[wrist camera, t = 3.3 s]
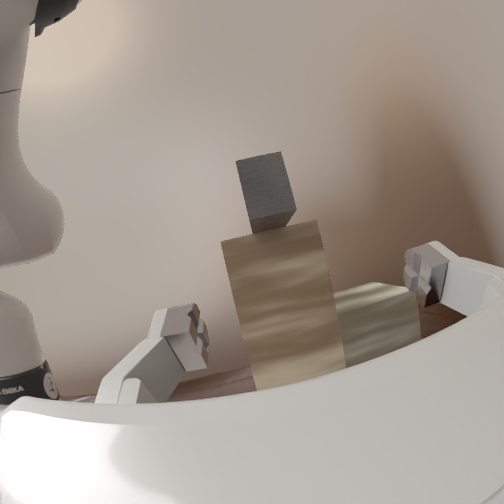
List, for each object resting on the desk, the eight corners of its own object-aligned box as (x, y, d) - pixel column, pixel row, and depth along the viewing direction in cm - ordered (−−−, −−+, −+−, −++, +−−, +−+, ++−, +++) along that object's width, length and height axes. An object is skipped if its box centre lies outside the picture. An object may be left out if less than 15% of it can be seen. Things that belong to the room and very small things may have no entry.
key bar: (296, 209, 17) (280, 151, 17) (249, 219, 17) (235, 161, 17) (277, 237, 36) (270, 208, 36) (255, 243, 36) (248, 213, 36)
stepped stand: (421, 407, 23) (397, 202, 24) (275, 455, 24) (220, 241, 25) (384, 374, 35) (358, 220, 36) (271, 407, 36) (233, 248, 37)
